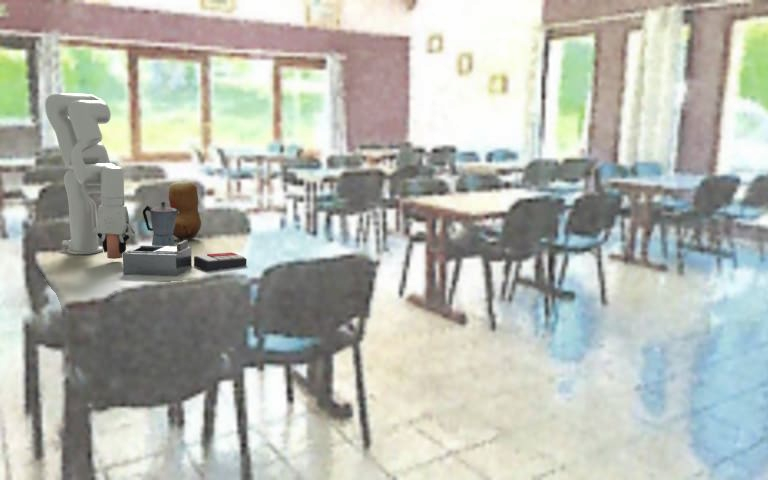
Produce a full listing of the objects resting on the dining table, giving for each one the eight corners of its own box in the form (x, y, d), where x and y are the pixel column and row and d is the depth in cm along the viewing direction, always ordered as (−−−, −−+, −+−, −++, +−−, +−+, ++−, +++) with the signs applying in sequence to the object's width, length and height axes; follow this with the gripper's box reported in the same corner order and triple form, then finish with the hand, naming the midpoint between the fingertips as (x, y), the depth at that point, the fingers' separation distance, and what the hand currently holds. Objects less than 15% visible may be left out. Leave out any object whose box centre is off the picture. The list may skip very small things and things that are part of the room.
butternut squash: (163, 239, 283) (161, 180, 279) (192, 235, 292) (190, 178, 288) (178, 244, 273) (176, 182, 269) (208, 240, 282) (206, 181, 278)
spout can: (104, 258, 237) (103, 231, 235) (112, 254, 242) (111, 227, 240) (118, 259, 236) (117, 232, 234) (125, 255, 242) (125, 228, 240)
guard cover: (156, 252, 223) (155, 243, 222) (166, 247, 231) (165, 239, 230) (179, 253, 222) (179, 244, 222) (188, 248, 230) (188, 239, 230)
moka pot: (174, 258, 247) (172, 204, 244) (136, 255, 250) (133, 202, 247) (187, 253, 256) (185, 201, 253) (150, 250, 259) (147, 199, 256)
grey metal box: (123, 274, 222) (122, 252, 221) (141, 264, 236) (140, 244, 234) (176, 276, 221) (175, 254, 219) (191, 266, 234) (191, 246, 233)
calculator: (247, 256, 237) (207, 259, 227) (246, 268, 238) (207, 272, 228) (232, 251, 245) (193, 254, 236) (232, 263, 246) (193, 266, 236)
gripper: (83, 201, 232) (86, 253, 235) (131, 205, 230) (133, 256, 234) (94, 198, 239) (96, 248, 243) (141, 201, 238) (142, 251, 242)
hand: (114, 251), depth 238 cm, fingers closed on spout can, 5 cm apart
